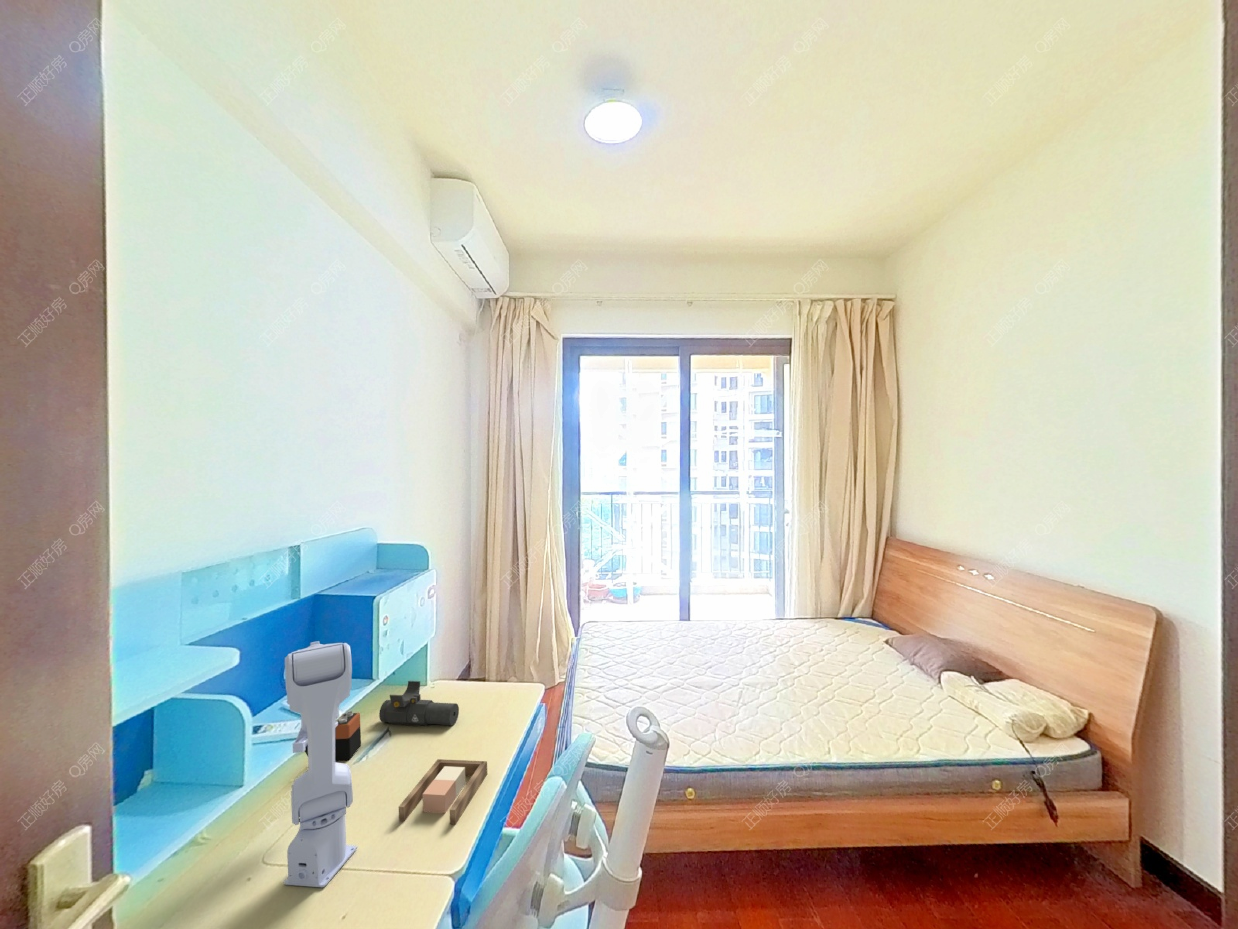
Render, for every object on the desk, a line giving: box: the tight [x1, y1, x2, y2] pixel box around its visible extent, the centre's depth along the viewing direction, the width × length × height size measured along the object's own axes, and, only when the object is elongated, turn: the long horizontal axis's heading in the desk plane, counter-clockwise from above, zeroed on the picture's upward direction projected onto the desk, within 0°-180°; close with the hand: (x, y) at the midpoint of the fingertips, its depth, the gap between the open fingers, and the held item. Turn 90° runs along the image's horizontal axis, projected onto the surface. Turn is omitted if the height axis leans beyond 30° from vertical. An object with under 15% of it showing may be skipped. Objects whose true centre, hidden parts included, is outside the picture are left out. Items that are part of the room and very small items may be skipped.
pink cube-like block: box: [422, 780, 457, 814], centre depth 113 cm, size 5×5×4 cm
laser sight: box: [378, 680, 460, 726], centre depth 150 cm, size 10×22×10 cm, turn 81°
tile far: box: [434, 766, 467, 798], centre depth 118 cm, size 5×5×4 cm
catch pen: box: [398, 759, 488, 825], centre depth 116 cm, size 17×12×3 cm
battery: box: [335, 710, 362, 762], centre depth 134 cm, size 4×7×10 cm, turn 2°
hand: (318, 767), depth 110 cm, fingers closed
